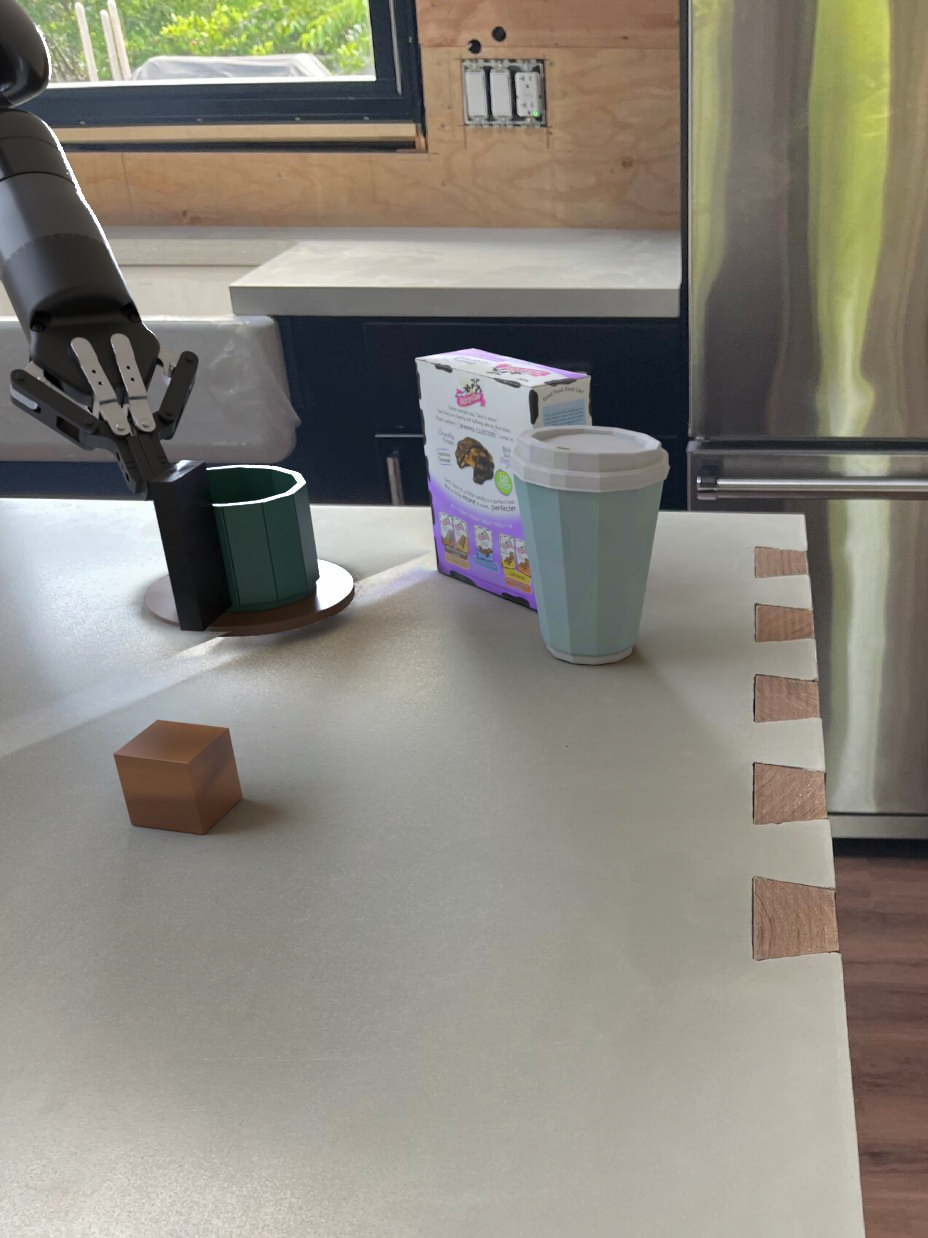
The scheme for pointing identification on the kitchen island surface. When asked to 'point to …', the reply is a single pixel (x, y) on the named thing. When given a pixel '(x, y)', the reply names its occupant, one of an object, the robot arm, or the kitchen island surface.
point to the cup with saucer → (240, 552)
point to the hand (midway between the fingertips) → (157, 492)
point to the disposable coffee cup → (589, 533)
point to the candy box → (487, 457)
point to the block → (179, 776)
